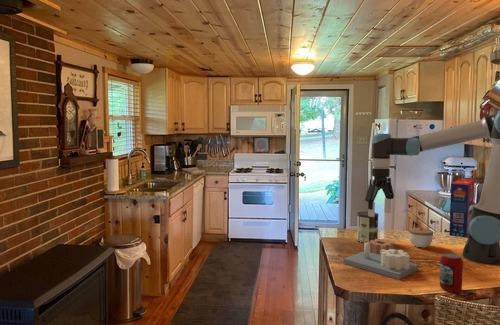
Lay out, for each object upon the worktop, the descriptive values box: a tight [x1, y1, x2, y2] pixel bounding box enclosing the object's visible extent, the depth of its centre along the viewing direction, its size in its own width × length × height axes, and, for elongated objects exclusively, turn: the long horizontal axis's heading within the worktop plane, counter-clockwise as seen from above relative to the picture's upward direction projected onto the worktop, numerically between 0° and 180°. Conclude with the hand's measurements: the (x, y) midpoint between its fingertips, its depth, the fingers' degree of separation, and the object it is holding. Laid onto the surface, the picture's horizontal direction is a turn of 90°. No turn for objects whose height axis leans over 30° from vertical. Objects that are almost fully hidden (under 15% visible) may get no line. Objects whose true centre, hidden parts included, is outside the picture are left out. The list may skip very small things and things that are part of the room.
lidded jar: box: [408, 226, 434, 249], centre depth 181 cm, size 11×11×9 cm
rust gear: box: [367, 238, 395, 255], centre depth 170 cm, size 10×10×5 cm
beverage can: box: [439, 252, 464, 293], centre depth 130 cm, size 7×7×12 cm
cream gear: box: [380, 249, 411, 270], centre depth 148 cm, size 10×10×5 cm
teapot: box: [438, 197, 451, 214], centre depth 267 cm, size 15×15×11 cm
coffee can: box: [356, 211, 379, 244], centre depth 190 cm, size 10×10×14 cm
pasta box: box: [448, 178, 476, 239], centre depth 210 cm, size 28×8×28 cm, turn 144°
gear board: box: [343, 243, 420, 280], centre depth 153 cm, size 24×16×8 cm, turn 42°
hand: (379, 214), depth 171 cm, fingers open, 13 cm apart
